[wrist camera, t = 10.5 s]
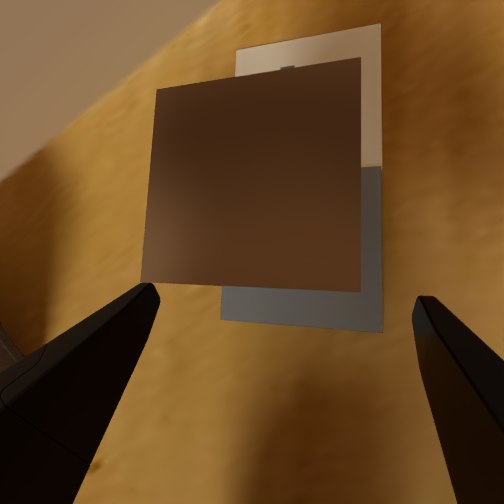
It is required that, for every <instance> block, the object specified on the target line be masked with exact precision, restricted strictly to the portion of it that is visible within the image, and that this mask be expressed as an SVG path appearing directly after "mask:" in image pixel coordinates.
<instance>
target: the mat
mask: <svg viewBox="0 0 504 504" xmlns="http://www.w3.org/2000/svg"><path fill="white" fill-rule="evenodd" d="M220 320H230V321H242V322H255V323H267V324H279V325H292V326H304V327H316V328H329V329H341V330H353V331H366V332H378V333H383V291H382V178H381V166H374V167H361V293H360V292H340V291H319V290H298V289H278V288H257V287H236V286H222V299H221V318H220Z"/></svg>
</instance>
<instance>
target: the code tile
mask: <svg viewBox="0 0 504 504" xmlns="http://www.w3.org/2000/svg"><path fill="white" fill-rule="evenodd" d="M357 57H361V167H374V166H381V171H382V91H381V23H380V24H374V25H369V26H364V27H358V28H353V29H348V30H342V31H337V32H332V33H326V34H321V35H316V36H310V37H305V38H300V39H294V40H289V41H284V42H278V43H273V44H268V45H262V46H257V47H252V48H246V49H241V50H236V69H235V77H238V76H244V75H250V74H257V73H263V72H269V71H276V70H282V69H288V68H294V67H301V66H307V65H313V64H319V63H326V62H332V61H338V60H344V59H351V58H357Z"/></svg>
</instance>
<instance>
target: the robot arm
mask: <svg viewBox="0 0 504 504" xmlns="http://www.w3.org/2000/svg"><path fill="white" fill-rule="evenodd" d="M159 305H160V296H159V294H158V292H157V290H156V288H155V286H154V285H153V284H152V283H147V282H142V283H140V284H138V285H137V286H135V287H134V288H132V289H130V290H129V291H127V292H126V293H124V294H123V295H121V296H120V297H118V298H116V299H115V300H113V301H112V302H110V303H109V304H107V305H106V306H104V307H103V308H101V309H99V310H98V311H96V312H95V313H93V314H92V315H90V316H89V317H87V318H86V319H84V320H82V321H81V322H79V323H78V324H76V325H75V326H73V327H72V328H70V329H68V330H67V331H65V332H64V333H62V334H61V335H59V336H58V337H56V338H55V339H53V340H51V341H50V342H49V343H47V344H45V345H44V346H42V347H41V348H39V349H37V350H36V351H34V352H33V353H31V354H30V355H28V356H26V357H25V358H23V359H22V360H20V361H18V362H17V363H15V364H13V365H12V366H10V367H8V368H7V369H5V370H3V371H1V372H0V504H73V502H74V500H75V497H76V495H77V493H78V491H79V489H80V486H81V484H82V482H83V480H84V478H85V476H86V473H87V471H88V469H89V467H90V464H91V462H92V460H93V458H94V456H95V453H96V451H97V449H98V447H99V445H100V443H101V440H102V438H103V436H104V434H105V432H106V429H107V427H108V425H109V423H110V421H111V419H112V416H113V414H114V412H115V410H116V408H117V405H118V403H119V401H120V399H121V397H122V395H123V392H124V390H125V388H126V386H127V384H128V381H129V379H130V377H131V375H132V373H133V371H134V368H135V366H136V364H137V362H138V360H139V357H140V355H141V353H142V351H143V349H144V347H145V344H146V342H147V340H148V337H149V334H150V332H151V329H152V326H153V323H154V320H155V317H156V314H157V311H158V308H159ZM412 323H413V330H414V336H415V343H416V350H417V356H418V362H419V368H420V372H421V376H422V380H423V384H424V387H425V391H426V394H427V398H428V401H429V405H430V408H431V412H432V415H433V419H434V423H435V426H436V430H437V433H438V437H439V440H440V444H441V447H442V451H443V454H444V458H445V461H446V465H447V468H448V472H449V476H450V479H451V483H452V486H453V490H454V493H455V497H456V500H457V504H504V360H503V359H501V358H500V357H499V356H498V355H497V354H496V353H495V352H494V351H493V350H492V349H491V348H490V347H489V346H487V345H486V344H485V343H484V342H483V341H482V340H481V339H480V338H479V337H478V336H477V335H476V334H475V333H473V332H472V331H471V330H470V329H469V328H468V327H467V326H466V325H465V324H464V323H463V322H462V321H460V320H459V319H458V318H457V317H456V316H455V315H454V314H453V313H452V312H451V311H450V310H449V309H448V308H446V307H445V306H444V305H443V304H442V303H441V302H440V301H439V300H438V299H437V298H435V297H434V296H418V297H417V299H416V303H415V306H414V310H413V313H412Z"/></svg>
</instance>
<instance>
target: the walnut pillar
mask: <svg viewBox="0 0 504 504" xmlns="http://www.w3.org/2000/svg"><path fill="white" fill-rule="evenodd" d="M140 282H153V283H174V284H195V285H215V286H236V287H257V288H278V289H298V290H319V291H340V292H360V293H361V57H357V58H351V59H344V60H338V61H332V62H326V63H319V64H313V65H307V66H301V67H294V68H288V69H282V70H276V71H269V72H263V73H257V74H250V75H244V76H238V77H232V78H225V79H219V80H213V81H207V82H200V83H194V84H188V85H182V86H175V87H169V88H163V89H157V92H156V104H155V116H154V127H153V139H152V151H151V163H150V175H149V186H148V198H147V210H146V222H145V233H144V245H143V257H142V269H141V281H140Z"/></svg>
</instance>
